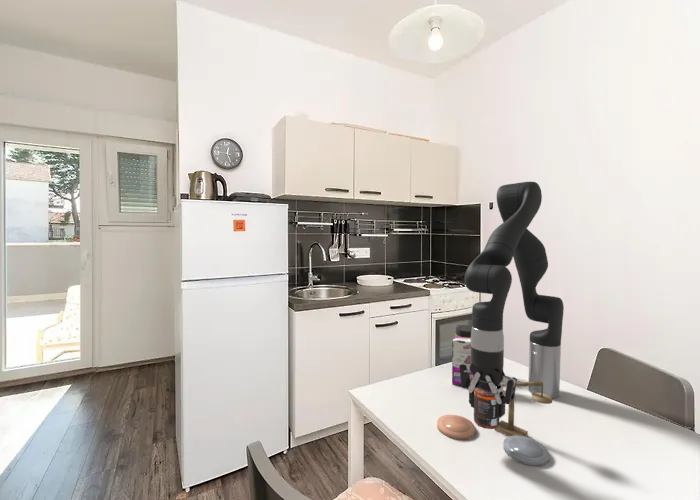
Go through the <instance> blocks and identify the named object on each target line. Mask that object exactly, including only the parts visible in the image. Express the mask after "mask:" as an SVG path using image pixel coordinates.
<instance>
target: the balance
mask: <svg viewBox="0 0 700 500" xmlns="http://www.w3.org/2000/svg"><path fill="white" fill-rule="evenodd" d="M501 384H502V386H503V387H506V386H505V382H501ZM528 386H542V389H541V393H531V399H532V400H533V401H534V402H537V403H539V404H544V405H546V404H547V405H551V404H552V403H553V399H554V398H552V397H550V396H549V395H546V394H543V382H529V381H517V384H516V387H528ZM496 388H497V386H496ZM515 397H516V395H515V396H514V398H515ZM507 410H508V412H507V415H508V418H507V419H508V420H507V421H508V422H507V421H505V420H502V419H501V420H499V426H498V427H497V428H495V429H493V430H494V431H495V432H496V433H497V432H498V433H499V434H502V435H504V436H506V437H509V436H524V437H528V435H529V433H528V432H529V431H528V430H526V429H524V428H522V427H519V426H517V425H515V423H514V422H515V399H514V400H513V401H512V402H511V403H509V404H508V409H507Z"/></svg>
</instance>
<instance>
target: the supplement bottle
mask: <svg viewBox="0 0 700 500" xmlns="http://www.w3.org/2000/svg"><path fill="white" fill-rule="evenodd" d="M496 403H497V401H496V398H495V396H494V394H492V391H491V389H490V386H489V384H488V382H487V381H484V380H481V379H479V381H478V385H477V386H476V387H475V388H474V408H473V421H474V423H475V424H476V425H477V426H479V427H480V428H483V429H487V430H494V429H495V428H497V427H498V426H499V422H500V418H497V417H496Z"/></svg>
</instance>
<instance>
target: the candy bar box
mask: <svg viewBox="0 0 700 500" xmlns="http://www.w3.org/2000/svg"><path fill="white" fill-rule="evenodd" d="M451 345H452V346H451V348H452V350H451V351H452V355H451V356H452V357H451V358H452V359H451V360H452V361H451V363H452V365H451V367H452V368H451V371H452V372H451V374H452V377H451V385H453V386H458V387H459V386H460V387H462V384H461V376H460V368H459V366H460V365H461V364H463V363H465V362H466V363H468V364H470V365H471V338H461V337H456V336H453V339H452V342H451ZM469 374H470V382H471V381H472V380H473V378H474V376H473V374H472V372H471V370H470V372H469Z"/></svg>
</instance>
